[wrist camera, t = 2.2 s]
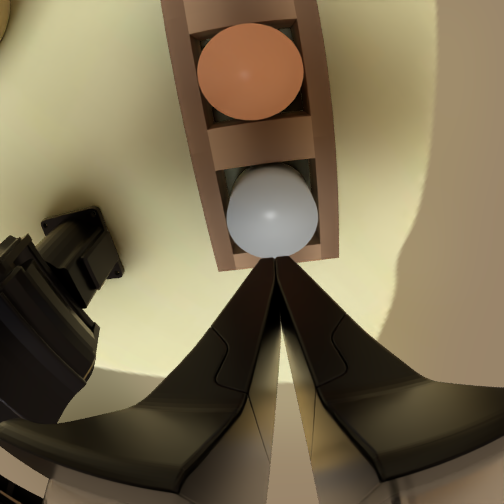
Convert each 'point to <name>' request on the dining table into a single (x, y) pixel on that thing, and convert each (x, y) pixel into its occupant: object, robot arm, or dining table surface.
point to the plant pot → (4, 16)
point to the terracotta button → (250, 71)
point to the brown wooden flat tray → (256, 131)
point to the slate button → (271, 211)
